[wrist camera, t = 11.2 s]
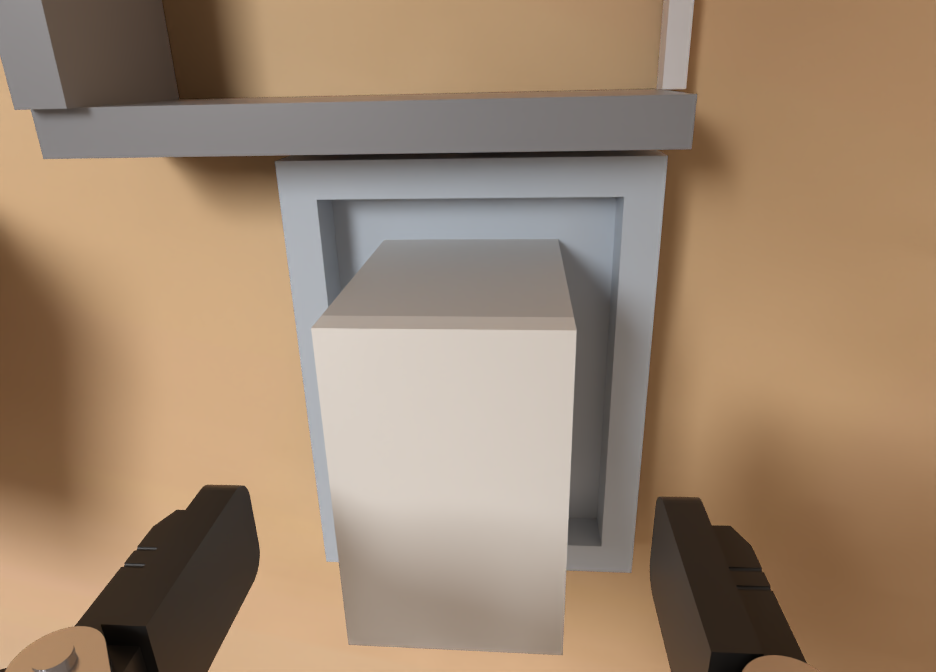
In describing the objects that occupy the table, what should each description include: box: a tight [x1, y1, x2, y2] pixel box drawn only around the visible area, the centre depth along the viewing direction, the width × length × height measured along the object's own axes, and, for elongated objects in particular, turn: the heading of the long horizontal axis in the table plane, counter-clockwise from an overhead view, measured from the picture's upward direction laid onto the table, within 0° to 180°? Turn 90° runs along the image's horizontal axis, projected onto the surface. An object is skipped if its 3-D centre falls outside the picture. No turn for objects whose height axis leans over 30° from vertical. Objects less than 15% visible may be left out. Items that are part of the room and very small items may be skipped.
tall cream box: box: [311, 239, 577, 655], centre depth 17 cm, size 8×5×7 cm, turn 1°
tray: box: [275, 150, 668, 573], centre depth 20 cm, size 13×10×2 cm
